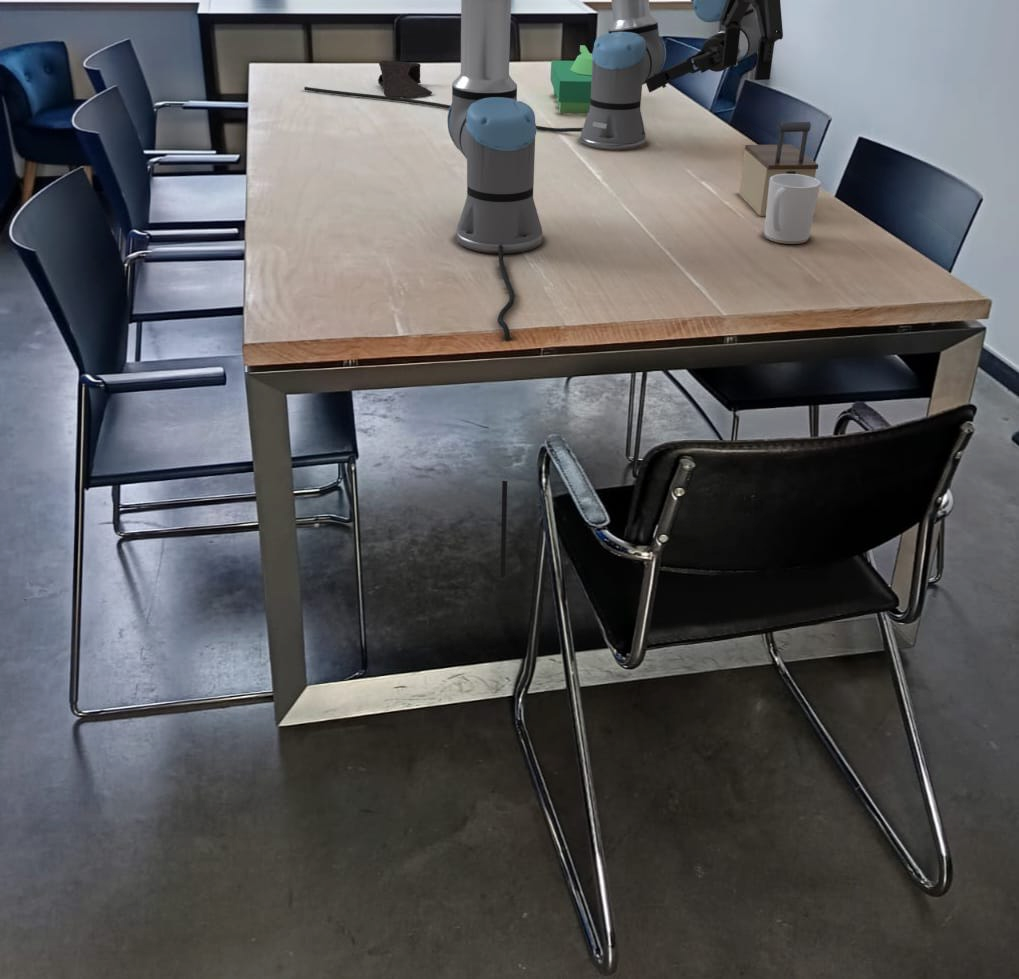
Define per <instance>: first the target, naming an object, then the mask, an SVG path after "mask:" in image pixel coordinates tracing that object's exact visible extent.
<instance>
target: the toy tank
mask: <svg viewBox="0 0 1019 979" xmlns="http://www.w3.org/2000/svg"><path fill="white" fill-rule="evenodd" d="M579 52H580V54H578V55H577V56H576V59H575V60H555V59H554V60H551V61H550V83H551V86H552V88H553V96H554V97H556V100H557V102H558V113H559V114H575V115H576V114H577V115H578V114H579V115H580V114H581V115H583V114H585V115H586V114H587V115H588V112H589V109H590V100H591V81H592V61H593V59H592V54H593V52H592V53H591V52H590V51H589V50H588V47H587V46H586V45H583V44H582V45H581V44H580V45H579Z"/></svg>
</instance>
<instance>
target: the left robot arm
mask: <svg viewBox="0 0 1019 979" xmlns="http://www.w3.org/2000/svg"><path fill="white" fill-rule="evenodd" d="M460 3H461V4H460V5H461V6H460V19H461V20H460V73H459V75H458V76H457V77H456V78H455V79H454V80H453V81H452V83H451V104H450V105H451V106H450V108H449V109H448V112H447V130H448V134H449V137H450V139H451V141H452V143H453V144H454V146H455V147H456V149H457V150H459V151H460V153H461V154H462V156H464V157H465V159H466V192H467V193H466V198H465V202H464V205H463V209H462V211H461V214H460V218H459V220H458V224H457V227H456V241H457V243H458V244H459V245H461V246H462V247H464V248H466V249H468V250H470V251H475V252H479V253H486V254H497V255H498V263H499V269H500V271H501V275H502V277H503V278H502V279H503V282H504V284H505V286H506V288H507V290H508V293H509V299H508V301H507V303H506V304H505V306H504V307H503V308H502V309H501V310H500V311H499V313H498V316H497V322H498V325H500V327H501V328H502V330H503V335H504V341H505V342H510V341H511V334H510V329H509V326H508V324H507V322H505V321H504V317H505V315H506V313H507V312H508V311H509V310H510V309H511V308H512V306H513V305H514V302H515V298H516V296H515V290H514V288H513V285H512V284H511V282H510V278H509V276H508V273H507V270H506V266H505V262H504V255H506V254H507V255H508V254H517V253H524V252H527V251H530V250H533V249H536V248H538V247H539V246H540V245H541V244H542V243H543V229H542V224H541V221H540V220H541V219H540V218H539V214H538V213H539V212H538V210H537V206H536V204H535V199H534V184H535V181H534V180H535V158H536V156H535V154H536V136H537V129H536V126H537V124H536V114H535V111H534V110H533V108H532V107H531V106H530V105H529V104H527V103H525V102H524V101H520V100H518V84H517V83H516V81H515V80H514V79H513V78H512V77H511V75H510V54H511V53H510V51H511V50H510V48H511V20H512V19H511V17H512V13H511V12H512V0H461V2H460ZM750 4H752V7H753V9H755V15H756V17H757V18H758V23H759V28H760V32H761V38H760V39H759V40H758V41H759V45H758V51H757V52H756V62H755V70H754V77H753V78H754V81H769V80H771V72H772V63H773V58H774V50H775V49H774V48H775V43H777V41H779V40H783V38H784V30H783V17H782V7H781V0H726V3H725V6H724V9H723V12H722V15H721V18H720V21H719V22H720V24H721V23H724V27H725V28H726V31H725V40H724V49H723V58H722V65H723V66H730V67H732V66H734V65H736V64H738V62H737V55H738V47H739V38H740V29H739V28H737V27H742V26H741V23H740V22H741V20H742V18H743V16H744V14H745V13H746V11H747V9H748V7H749V5H750ZM727 14H729V15H728V16H727ZM507 513H508V480H502V481H501V522H500V523H501V526H500V528H501V529H500V530H501V531H500V532H501V533H500V577H499V578H502V579H504V578H506V562H507V560H506V559H507V557H506V556H507V554H506V553H507V518H508V516H507Z"/></svg>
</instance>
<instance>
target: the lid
mask: <svg viewBox="0 0 1019 979" xmlns="http://www.w3.org/2000/svg"><path fill="white" fill-rule="evenodd" d="M811 126H812V125H811V122H810V121H780V122H779V123H778V132H779V133H778V140H777V144H745V145H744V150H745V149H746V150H747V151H748V152H749V153H750V154H751V155H752V156H754V157H755V158H756V159H757V160H758V161H759V162H760V163H761V164H762V165H764V166H765V167H766V168H767V169H768V170H775V169H816V170H818V169H819V164H818V163H817V162H815V161H814V159H812V158H811V157H809V156H808V155H807V154H806V153H805V152H806V146H807V141H808V133H809V132H810V131H811ZM785 133H802V137H801V144H800V149H799V148H798V147H796V146H795V145H794V144H784V143H783V142H784V136H785Z"/></svg>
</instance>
